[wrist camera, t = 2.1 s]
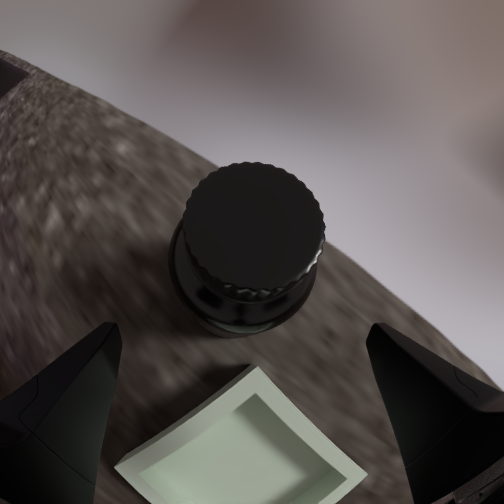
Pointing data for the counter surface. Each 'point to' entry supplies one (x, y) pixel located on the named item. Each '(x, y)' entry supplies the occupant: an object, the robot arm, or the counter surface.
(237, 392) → the mint green square tray
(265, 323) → the supplement bottle
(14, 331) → the counter surface
